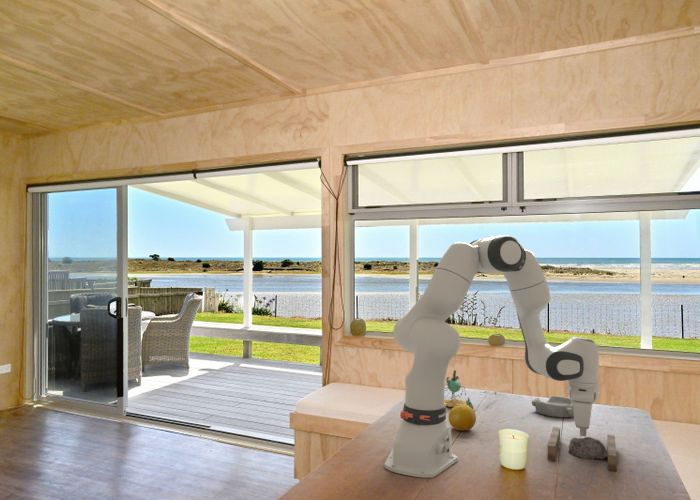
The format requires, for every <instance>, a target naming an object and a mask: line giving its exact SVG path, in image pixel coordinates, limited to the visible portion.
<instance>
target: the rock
mask: <svg viewBox="0 0 700 500" xmlns="http://www.w3.org/2000/svg"><path fill="white" fill-rule="evenodd" d="M567 451H568V453H569V454H570V455H572V456H575V457H578V458H583V459H588V460H596V459H598V460H604V459H606V458H608V451H607V449H606V448H605V445H604V443H603V442H601V441H600V440H599V439H596V438H593V437H590V436H588V437H587V436H586V437H578V438H577V437H572V438H571V439H570V440H569V445H568V450H567Z"/></svg>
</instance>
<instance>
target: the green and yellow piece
mask: <svg viewBox="0 0 700 500" xmlns="http://www.w3.org/2000/svg"><path fill="white" fill-rule="evenodd" d="M452 372H453V373H452V378H450V377H449V376H447V377H446V378H445V381H446V386H447V387H445V389H444V392H447V391H448V389H449V391H451V397H449V398H450V399H444V405H445V406H446V407H449V408H450V407H451V408H453V407H455V406H457V405H467V406H469V407H471V408H472V409H473V410H474V412H475V411H476V410H475V408H474V405H473V403H472V401H471V399H470V397H467V399H466V400H462V399H459V398H461V396H463V392H464V391H466V388H465V386H462V385H461V382H460V381H459V380H460V378H459V376H456V375H457V370H455V369H454V370H453V371H452ZM460 389H461V390H462V392H461V393H460V395H459V394H457V395H455V393H457V392H460V391H461V390H460ZM464 396H467V393H466V392H464ZM456 397H459V398H458V399H456ZM475 413H476V412H475Z"/></svg>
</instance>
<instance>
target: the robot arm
mask: <svg viewBox="0 0 700 500" xmlns="http://www.w3.org/2000/svg"><path fill="white" fill-rule="evenodd" d="M485 273H486V274H500V273H501V275H503V276H504V278H505V279H506V282H507V287H508V289H509V292H510V294H511V298H512V301H513V302H514V303H513V304H514V306H515V310H516V316H517V318H518V323H519V327H520V330H521V333H522V337H523V341H524V348H525V349H524V351H525V352H524V360H525V364H526V365H527V368H528V369H529V370H530V371H531V372H532V373H535V374H537V375H542V376H544V377H545V378H548V379H551V380H553V381H558V382H562V381H567V394H568V396H569V398H570V399H571V400H572V402H573V411H574V416H573V417H574V425H575V427H576V428H577V429H579V436H581V437H583V438H585V437H587V433H588V432H587V431H588V430H589V429H590V423H591V417H592V416H591V415H592V409H593V405H594V404H595V401H596V400H597V399H599V397H600V380H599V379H600V378H599V376H598V373H599V372H598V371H599V369H600V361H599V359H600V358H599V350H598V345H597V343H596V342H595V341H594V340H592V339H589V338H585V337H580V336H575V335H573V336H570V337H569V338H568V339H567V341H565V342H563V343H561V344H560V345H557V346H553V345H551V344H550V343H548V341H547V340H546V338H545V334H544V331H543V328H542V323H541V320H540V314H541V312H542V311H543V310H544V309H545V308H546V307H547V306H548V304H549V302H550V300H551V293H550V288H549V285H548V282H547V280H546V277H545V274H544V272H543V269H542V268H541V265H540V263H539V261H538V260H537V258H536V256H535V255H534V253H533V252H532V251H531V250H530V249H526V248H523V245H522V243H520V241H519V240H518V239H517V238H515V237H513V236H511V235H503V234H502V235H497V236H496V235H495V236H486V237H482V238H480V239H476V240H475V239H474V240H473V241H471V242H469V243H468V242H465V241H464V242H463V241H456V242H454V243H453V244H451V245H450V246H449V247H448V249H447V250H446V251H445V253H444V255H443V256H442V257H441V258H440V261H439V262H438V264H437V266H436V268H435V270H434V272H433V274H432V276H431V278H430V280H429V283H428V284H427V286H426V288H425V290H424V292H423V293H422V294H421V297H420V298H419V299H418V300H417V301H416V303H415V304H414V305H413V306H412V307H411V309H410V310H409V311H408V312H407V313H406V314H405V315H404V316H402V317H401V318H400V319H398V320H397V321H396V322H395V325H394V327H393V330H392V331H393V332H392V333H393V338H394V341H395V342H396V343H397V345H399V347H401V348H402V349H403V350H404V351H406V352H409V353H412V354H413V356H414V357H413V362H412V366H411V368H410V371H409V372H408V373H407V374H406V376H405V379H404V380H405V381H404V383H405V384H404V385H405V387H404V390H405V391H404V392H405V394H404V395H405V397H404V398H405V401H404V402H405V403H404V404H403V408H402V410H401V411H400V414H399V418H400V419H402V420H400V424H399V427H398V430H397V432H396V435H395V439H394V442H393V445H392V446H393V447H392V448H391V450H390V453H389V454H388V456H387V458H386V460H385V462H384V466H383V468H384V469H386V470H387V471H389V472H392V473H397V474H401V475H404V476H410V477H415V478H417V477H418V478H435V477H436V476H438V475H439V474H441V473H442V472H443V471H445V470H446V469H448V468H449V467H451V466H452V465H453V464H455V463H456V462H458V455H456V454H454V453H453V443H452V429H451V428H450V426H449V425H448V424H447V422H446V419H447V409H446V408H447V406H445V405H444V400H445V391H444V390H446V389H445V388H446V384H445V383H446V376H447V371H448V368H449V365H450V363H451V362H450V361H452V359H453V358H454V357H455V356H456V355H457V354H458V353H459V350H460V347H461V337H460V333H459V332H458V330H457V329H456V328H455V327H453V325H450V324H449V323H448V322H446V321H447V320H448V318H450V317H451V316H452V315H453V314H455V313H457V312H458V311H459V310H460V309H461V307H462V304H463V303H464V301H465V298H466V296H467V293H468V291H469V289H470V287H471V285H472V282H473V281H474V277H475V276H476V275H477V274H485Z"/></svg>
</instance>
